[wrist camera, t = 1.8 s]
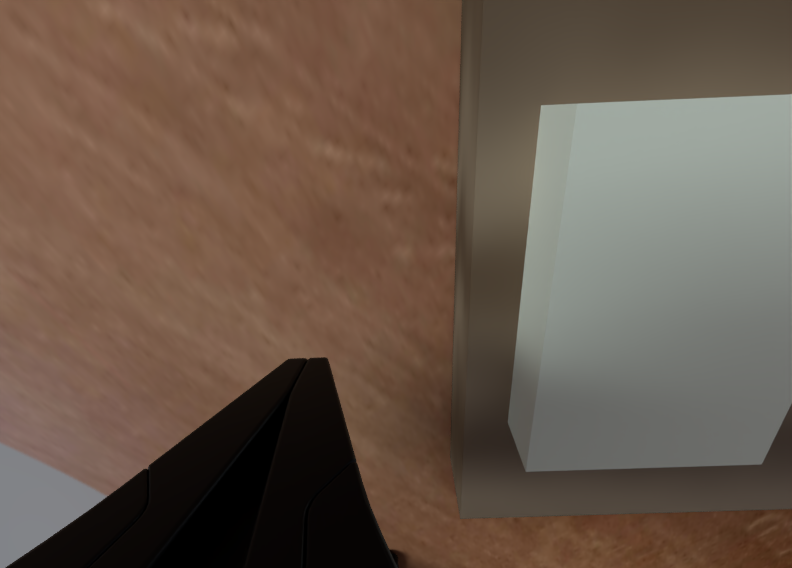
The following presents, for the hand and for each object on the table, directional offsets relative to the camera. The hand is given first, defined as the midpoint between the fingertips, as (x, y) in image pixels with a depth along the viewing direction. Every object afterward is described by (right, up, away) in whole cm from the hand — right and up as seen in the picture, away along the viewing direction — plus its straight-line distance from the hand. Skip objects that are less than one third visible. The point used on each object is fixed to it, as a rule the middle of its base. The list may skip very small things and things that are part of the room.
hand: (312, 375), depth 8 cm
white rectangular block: (+9, +2, +3) cm, 10 cm away
